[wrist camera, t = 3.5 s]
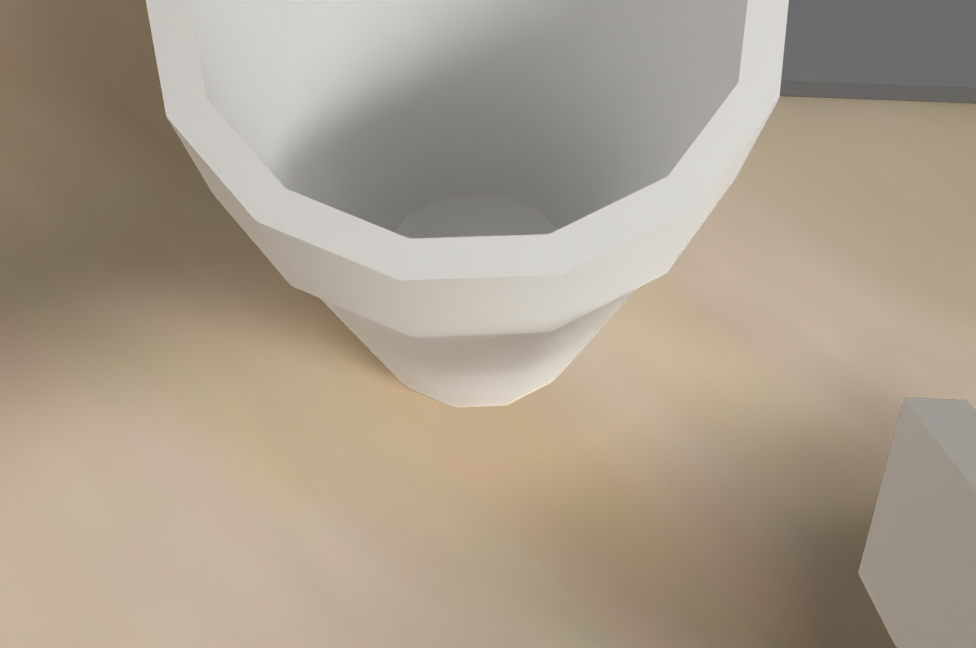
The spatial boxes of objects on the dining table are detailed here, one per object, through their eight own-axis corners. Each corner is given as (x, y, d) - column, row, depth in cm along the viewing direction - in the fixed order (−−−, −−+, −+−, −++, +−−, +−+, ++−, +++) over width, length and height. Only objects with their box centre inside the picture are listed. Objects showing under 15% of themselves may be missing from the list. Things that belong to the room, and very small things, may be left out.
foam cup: (354, 127, 28) (251, -289, 15) (661, 178, 27) (809, -209, 15) (272, 432, 24) (59, 220, 12) (616, 497, 24) (755, 343, 12)
